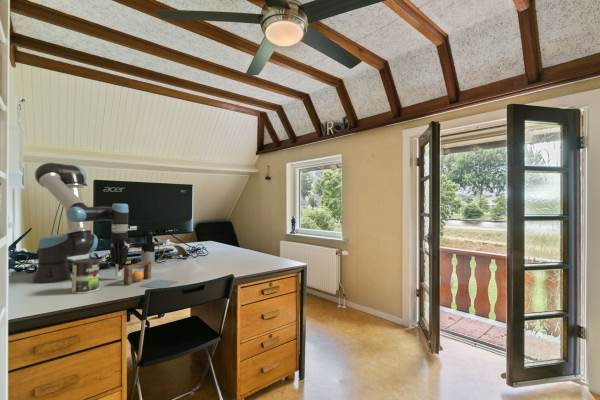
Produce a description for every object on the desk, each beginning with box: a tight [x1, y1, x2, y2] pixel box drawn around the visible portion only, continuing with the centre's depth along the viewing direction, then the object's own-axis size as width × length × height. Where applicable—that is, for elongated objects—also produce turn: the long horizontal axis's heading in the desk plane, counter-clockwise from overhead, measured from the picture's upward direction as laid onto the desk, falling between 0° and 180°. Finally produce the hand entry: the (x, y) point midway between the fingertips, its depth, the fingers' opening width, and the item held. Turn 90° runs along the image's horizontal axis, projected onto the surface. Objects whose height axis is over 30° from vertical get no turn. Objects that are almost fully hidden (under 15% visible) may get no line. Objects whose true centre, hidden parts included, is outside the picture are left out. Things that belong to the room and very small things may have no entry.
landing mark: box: [139, 278, 179, 289], centre depth 146 cm, size 13×13×1 cm
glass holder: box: [139, 242, 166, 270], centre depth 184 cm, size 9×14×15 cm, turn 115°
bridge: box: [123, 261, 152, 286], centre depth 149 cm, size 3×14×9 cm, turn 164°
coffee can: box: [71, 258, 100, 295], centre depth 133 cm, size 10×10×14 cm
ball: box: [132, 270, 144, 283], centre depth 149 cm, size 6×6×6 cm
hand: (118, 275), depth 153 cm, fingers closed
